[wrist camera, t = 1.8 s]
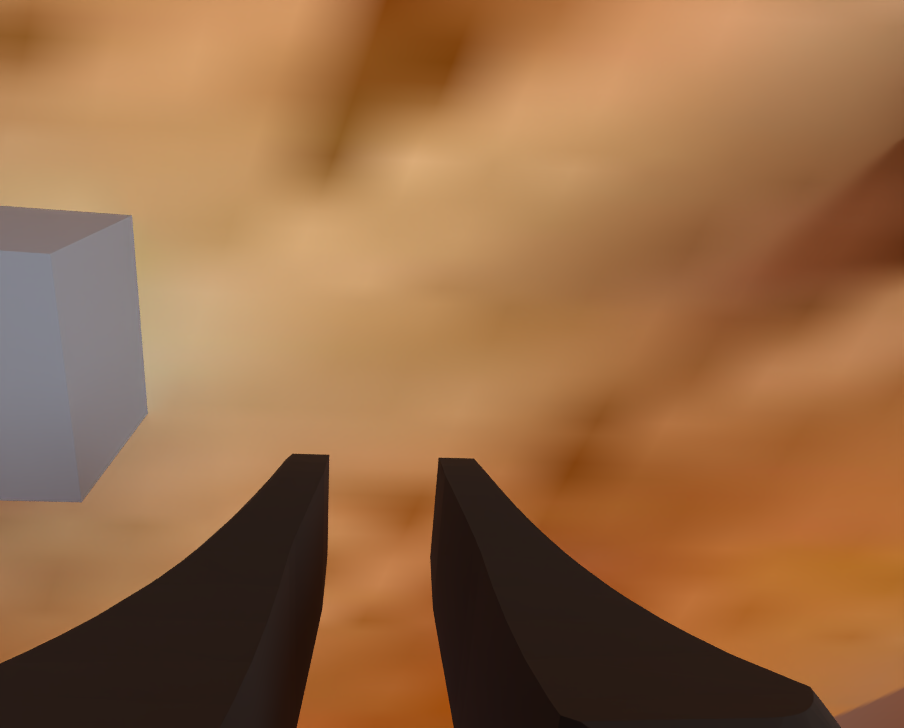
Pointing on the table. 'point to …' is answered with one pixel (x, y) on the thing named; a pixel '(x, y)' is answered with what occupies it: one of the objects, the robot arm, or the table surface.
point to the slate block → (66, 350)
